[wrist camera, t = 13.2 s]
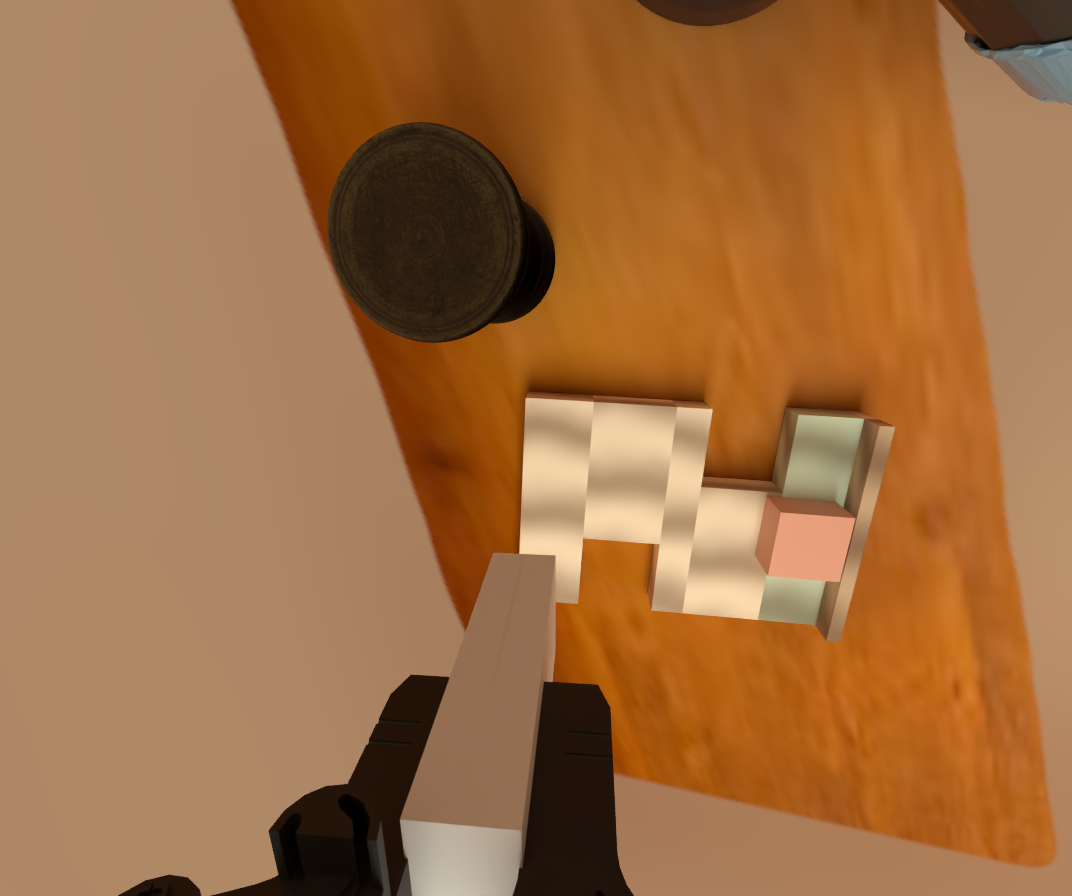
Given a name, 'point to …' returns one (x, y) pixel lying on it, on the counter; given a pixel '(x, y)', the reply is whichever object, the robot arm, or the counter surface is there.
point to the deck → (692, 500)
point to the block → (804, 538)
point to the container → (435, 235)
